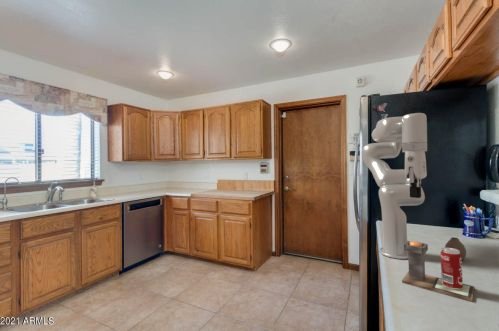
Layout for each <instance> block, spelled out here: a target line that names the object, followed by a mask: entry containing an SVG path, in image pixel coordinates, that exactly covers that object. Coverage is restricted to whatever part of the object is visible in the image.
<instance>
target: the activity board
mask: <svg viewBox="0 0 499 331" xmlns="http://www.w3.org/2000/svg"><path fill="white" fill-rule="evenodd" d="M410 241H411V240H407V242H406V243H405V244H404V250H406V251H408V272H407V273H406V274H405V275H404V277H403V278H402V280H401V283H402V284H407V285H409V286H414V287H417V288H419V289H420V288H421V289H424V290H427V291H431V292H435V293H438V294H442V295H445V296H449V297H453V298H457V299H460V300H465V301H468V302H471V303H473V300H474V294H475V286H474V285H470V284H465V283H463V288H462V289H461V290H452V289H449V288H446V287H445V286H443V284H442V277H437V276H434V275H433V276H432V275H428V274H426V263H425V262H426V261H425V255H426V254H427V252H428V251H429V246H428V243H425V242H421V243H422V247H417V246H412V245H410Z"/></svg>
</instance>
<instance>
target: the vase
mask: <svg viewBox="0 0 499 331" xmlns="http://www.w3.org/2000/svg"><path fill="white" fill-rule="evenodd" d="M444 248H453V249H457V250H459V251H460V254H461V258H462V261H463V260H464V259H465V258H466V257H467V249H466V246H465V245H464V244H463V243H462V241H461V240H460V239H459V238H458V237H450V239H449V240H448V241H447V242H446V243H445V246H444Z"/></svg>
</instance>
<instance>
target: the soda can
mask: <svg viewBox="0 0 499 331" xmlns="http://www.w3.org/2000/svg"><path fill="white" fill-rule="evenodd" d="M462 261H463V260H462V258H461V254H460V251H459V250H457V249H453V248H445V247H442V248H441V251H440V270H441V278H442V284H443V286H445V287H446V288H449V289H452V290H461V289H462V288H463V284H464V283H463V265H462V264H463V262H462Z"/></svg>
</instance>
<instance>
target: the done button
mask: <svg viewBox="0 0 499 331" xmlns="http://www.w3.org/2000/svg"><path fill="white" fill-rule="evenodd" d="M409 241H410V245H412V246H417V247H422V243H423V242H419V241H415V240H414V241H413V240H409Z"/></svg>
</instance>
